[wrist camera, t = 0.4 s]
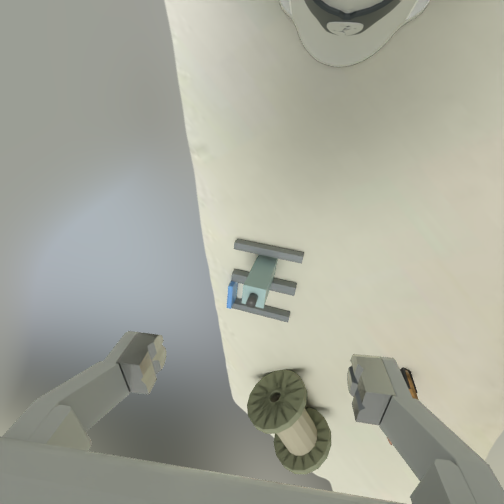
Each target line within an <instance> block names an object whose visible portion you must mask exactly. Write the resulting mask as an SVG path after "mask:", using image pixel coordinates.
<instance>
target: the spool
mask: <svg viewBox="0 0 504 504" xmlns="http://www.w3.org/2000/svg"><path fill="white" fill-rule="evenodd" d="M306 400H307V390H306V388H305V385H304V383H303V381H302V379H301V378H300V377H299V376H298V375H297V374H296V373H295V372H293V371H289V370H279V371H274V372H272V373H270V374H268V375H266V376H264V377H263V378H262V379H261V380H260V381H259V382H258V383H257V384H256V385H255V387H254V389H253V390H252V392H251V393H250V397H249V400H248V404H247V409H248V416H249V418H250V420H251V421H252V423H253V424H254V426H255V427H256V429H258V430H260V431H262V432H264V433H266V434H272V433H275V438H274V446H275V452H276V455H277V457H278V458H279V460H280V461H281V463H282V465H283V466H284V467H285V468H286V469H288V470H289V471H291V472H293V473H294V474H308V473H310V472H312V471H314V470H316V469H318V468H319V467H320V466H321V465H322V463H323V462H324V461H325V460H326V459H327V456H328V453H329V450H330V447H331V431H330V429H329V426H328V424H327V422H326V420H325V418H324V417H323V416H322V415H321V414H320V413H319V412H318V411H317V410H315V409H312V408H309V407H305V406H306Z"/></svg>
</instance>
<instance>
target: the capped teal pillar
mask: <svg viewBox="0 0 504 504" xmlns="http://www.w3.org/2000/svg"><path fill="white" fill-rule="evenodd" d="M276 264H277V258H274V257H269V256H264V255H260V254H259V255H258V257H257V259H256V261H255V263H254V265H253V267H252V269H251V271H250V273H249V275H248V277H247V279H246V281H245V283H244V285H243V294H242V303H243V304H246V305H247V306H248V307H250V308H253V307H259V308H264V305H265V302H266V299H267V296H268V293H269V290H270V287H271V284H272V281H273V278H274V275H275V269H276Z"/></svg>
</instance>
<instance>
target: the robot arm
mask: <svg viewBox="0 0 504 504" xmlns="http://www.w3.org/2000/svg"><path fill="white" fill-rule="evenodd" d="M279 1H280V6H281V8H282V9H283V11H284V12H285V13H286V14H287V15H288V16H289V17H290V18H291V19H292V20H293V22H294V24H295V26H296V29H297V32H298V35H299V37H300V40H301V42H302V44H303V46H304V47H305V49H306V50H307V51H308V53H309V54H310V55H311V56H312V57H313V58H315V59H316V60H318V61H319V62H321V63H323V64H326V65H329V66H335V67H344V66H350V65H354V64H357V63H359V62H361V61H363V60H365V59H367V58H369V57H370V56H372V55H373V54H374V53H376V52H377V51H378V50H379V49H380V48H381V47H383V46H384V44H385V43H386V42H387V41H388V40H389V39H390V38H391V37H392V35H393V34H394V33H395V32H396V31H397V30H398V29H399V28H400V27H401V26H402V25H404V24H406V23H407V22H409V21H411V20H412V19H414V18H415V17H417V16H418V15H419V14H421V13H422V12H423V11H424V9H425V8H426V6H427V5H428V3H429V1H430V0H279ZM162 343H163V337H162V336H161V335H156V334H148V333H140V332H131V331H128V332H126V333H125V334H124V335H123V337H122V338H121V339H120V340H119V342H118V343H117V344H116V346H115V347H114V348H113V350H112V351H111V352H110V353H109V355H108V356H107V357H106V359H105V360H104V361H103V362H101V361H100V362H98V363H96V364H95V365H93V366H91V367H90V368H88V369H86V370H85V371H83V372H81V373H80V374H78V375H76V376H75V377H73V378H71V379H70V380H68V381H66V382H65V383H63V384H61V385H59V386H58V387H56V388H54V389H53V390H51V391H49V392H48V393H46V394H44V395H43V396H41V397H39V398H38V399H36V400H35V401H34V402H33V403H32V404H31V405H30V406H29V408H28V409H27V410H26V411H25V412H24V413H23V414H22V415H21V416H20V417H19V419H18V420H17V421H16V422H15V423H14V424H13V425H12V426H11V427H10V428H9V430H8V431H7V432H6V433H5V434H4V435H3V436H2V437H0V504H405V503H399V502H393V501H387V500H381V499H375V498H369V497H363V496H357V495H351V494H345V493H339V492H332V491H326V490H320V489H314V488H308V487H302V486H296V485H290V484H284V483H278V482H272V481H266V480H259V479H254V478H248V477H242V476H236V475H229V474H224V473H218V472H212V471H205V470H200V469H194V468H187V467H182V466H175V465H169V464H163V463H158V462H152V461H145V460H139V459H134V458H127V457H121V456H115V455H109V454H103V453H97V452H90V451H89V449H90V447H91V446H92V442H91V440H90V438H89V436H88V435H87V433H86V431H88V430H89V429H90V428H91V427H92V426H93V425H94V424H95V423H97V422H98V421H99V420H100V419H101V418H102V417H103V416H105V415H106V414H107V413H108V412H109V411H110V410H111V409H113V408H114V407H115V406H116V405H117V404H118V403H120V402H121V401H122V400H123V399H124V398H125V397H126V396H128V395H129V394H130V392H131V393H142V394H149V393H150V391H151V389H152V387H153V386H154V384H155V382H156V380H157V379H156V374H157V373H158V372H159V371H161V370H162V368H163V366H164V363H165V359H166V349H165V347H164V346H163V345H162ZM351 363H352V366H351V367H349V369H348V373H347V382H348V389H349V393H350V394H351V395H352V396H353V397H354V398H353V401H352V407H353V411H354V416H355V420H356V422H362V423H368V424H374V425H380V426H379V427H380V428H381V429H382V431H383V432H384V434H385V435H386V436H387V438H388V439H389V440H390V442H391V443H392V444H393V446H394V447H395V448H396V450H397V451H398V452H399V454H400V455H401V456H402V458H403V459H404V460H405V462H406V463H407V464H408V466H409V467H410V468H411V470H412V471H413V472H414V474H415V475H416V476H417V478H418V479H419V480H420V483H419V484H418V486H417V487H416V488H415V490H414V491H413V493H412V494H411V496H410V498H411V501H412V504H504V490H503V488H502V487H501V485H500V483H499V481H498V480H497V478H496V476H495V474H494V473H493V471H492V469H491V468H490V466H489V465H488V464H487V463H486V462H485V461H484V460H483V459H482V458H481V457H480V456H479V455H478V454H476V453H475V452H474V451H473V450H472V449H471V448H470V447H469V446H468V445H467V444H466V443H464V442H463V441H462V440H461V439H460V438H459V437H458V436H457V435H456V434H455V433H454V432H453V431H451V430H450V429H449V428H448V427H447V426H446V425H445V424H444V423H443V422H442V421H441V420H439V419H438V418H437V417H436V416H435V415H434V414H433V413H432V412H431V411H430V410H429V409H428V408H426V407H425V406H424V405H423V404H422V403H421V402H420V401H419V400H418V399H414V398H412V395H411V393H410V391H409V389H408V387H407V384H406V382H405V380H404V378H403V376H402V373H401V371H400V369H399V367H398V365H397V362H396V360H395V359H394V358H388V357H379V356H369V355H357V354H353V355H352V358H351Z"/></svg>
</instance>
